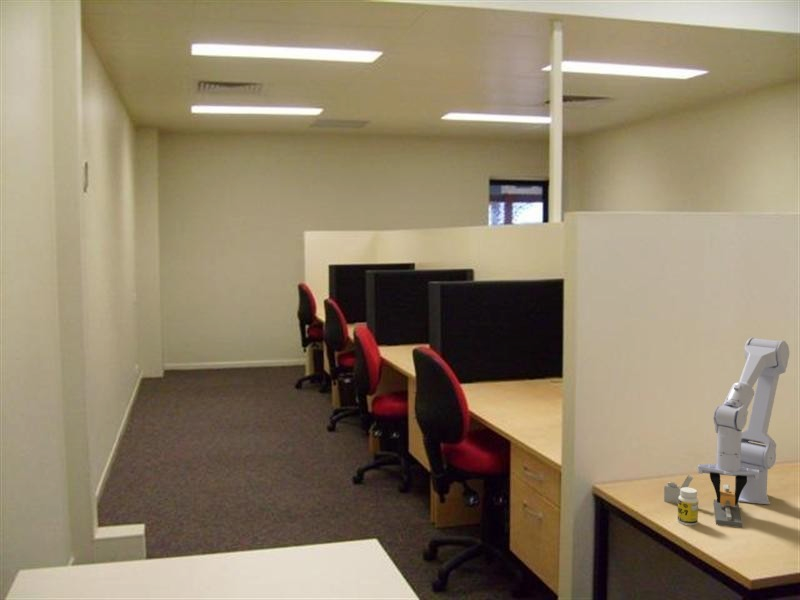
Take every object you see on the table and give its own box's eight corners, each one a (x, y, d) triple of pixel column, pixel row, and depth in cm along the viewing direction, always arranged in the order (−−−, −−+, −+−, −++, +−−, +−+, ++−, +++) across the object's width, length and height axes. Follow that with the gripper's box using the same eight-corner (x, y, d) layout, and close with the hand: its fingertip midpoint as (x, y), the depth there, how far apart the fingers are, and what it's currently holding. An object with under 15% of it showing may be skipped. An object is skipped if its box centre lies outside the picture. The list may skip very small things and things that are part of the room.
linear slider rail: (713, 503, 201) (714, 482, 200) (737, 506, 198) (738, 485, 198) (716, 524, 187) (716, 501, 186) (742, 527, 184) (743, 504, 184)
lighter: (663, 501, 203) (664, 472, 202) (665, 499, 204) (666, 470, 203) (690, 506, 199) (691, 477, 198) (692, 504, 200) (693, 475, 199)
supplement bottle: (673, 520, 190) (674, 488, 189) (687, 517, 191) (688, 485, 191) (687, 526, 185) (688, 494, 184) (701, 523, 187) (702, 491, 186)
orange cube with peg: (719, 499, 197) (719, 490, 197) (733, 500, 196) (734, 492, 195) (720, 506, 192) (720, 497, 192) (735, 508, 191) (735, 499, 190)
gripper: (699, 453, 192) (697, 504, 193) (761, 458, 187) (759, 511, 188) (698, 445, 198) (697, 495, 200) (758, 450, 193) (756, 501, 195)
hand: (727, 502), depth 194 cm, fingers closed on orange cube with peg, 3 cm apart
